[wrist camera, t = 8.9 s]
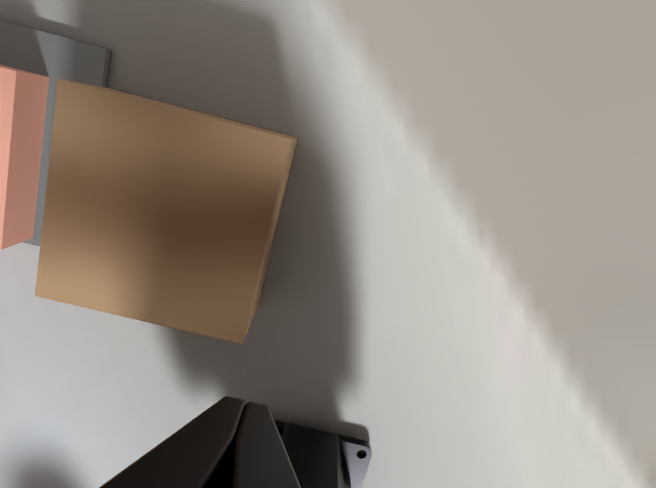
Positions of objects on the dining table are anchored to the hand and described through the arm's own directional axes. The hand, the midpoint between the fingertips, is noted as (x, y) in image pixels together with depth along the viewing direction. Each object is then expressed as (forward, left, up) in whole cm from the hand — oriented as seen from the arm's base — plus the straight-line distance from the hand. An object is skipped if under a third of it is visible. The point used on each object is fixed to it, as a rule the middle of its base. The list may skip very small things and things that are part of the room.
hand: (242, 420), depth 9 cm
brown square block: (+1, +5, -12) cm, 14 cm away
